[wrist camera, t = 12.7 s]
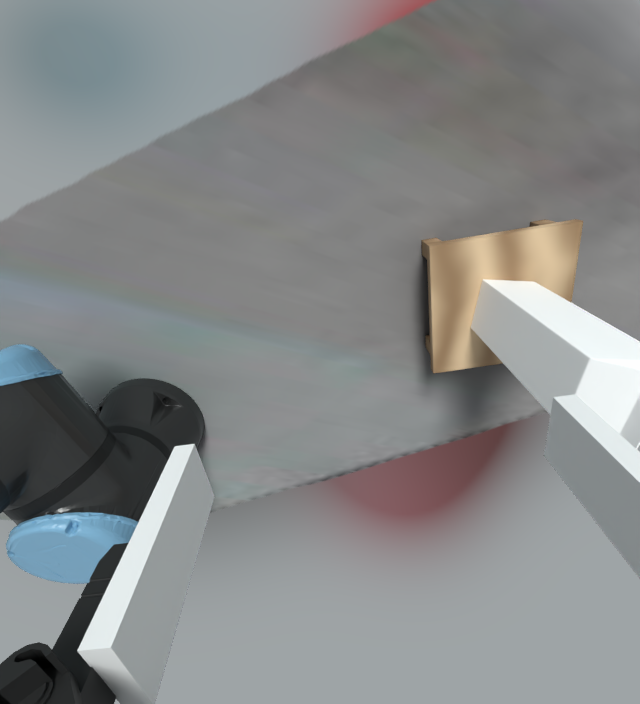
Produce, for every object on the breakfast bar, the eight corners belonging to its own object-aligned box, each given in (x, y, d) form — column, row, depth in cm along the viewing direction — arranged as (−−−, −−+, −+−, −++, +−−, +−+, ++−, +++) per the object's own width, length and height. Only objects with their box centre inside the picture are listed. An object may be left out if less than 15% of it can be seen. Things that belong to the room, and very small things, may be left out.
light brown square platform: (421, 351, 53) (433, 373, 48) (416, 236, 46) (429, 246, 41) (538, 334, 52) (563, 354, 47) (551, 213, 45) (583, 221, 40)
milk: (469, 327, 45) (585, 458, 26) (482, 277, 43) (621, 382, 23) (520, 329, 45) (673, 461, 26) (535, 280, 43) (720, 386, 23)
